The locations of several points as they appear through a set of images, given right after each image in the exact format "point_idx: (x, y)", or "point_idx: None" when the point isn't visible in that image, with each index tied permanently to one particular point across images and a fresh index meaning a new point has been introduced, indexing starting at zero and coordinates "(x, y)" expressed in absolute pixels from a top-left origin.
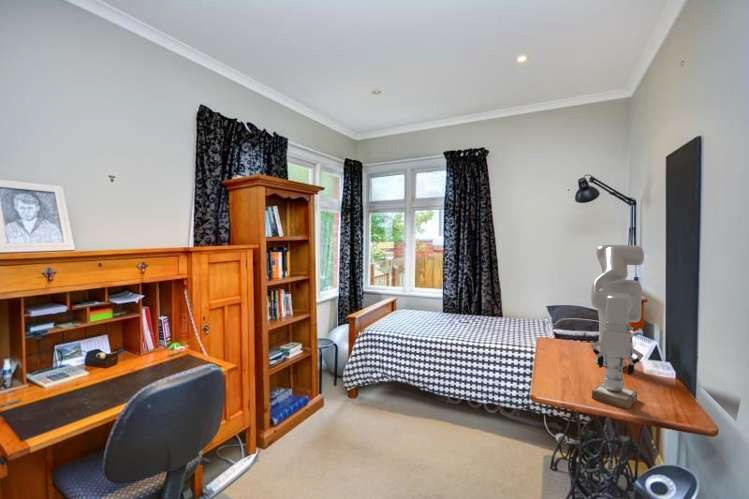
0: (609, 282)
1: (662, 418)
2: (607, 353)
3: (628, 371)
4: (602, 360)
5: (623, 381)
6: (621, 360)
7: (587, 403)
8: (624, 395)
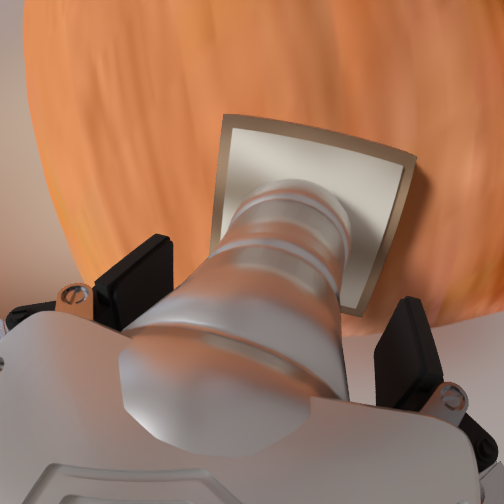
0: None
1: (459, 301)
2: None
3: (377, 377)
4: (139, 305)
5: (348, 252)
6: None
7: None
8: (350, 265)
